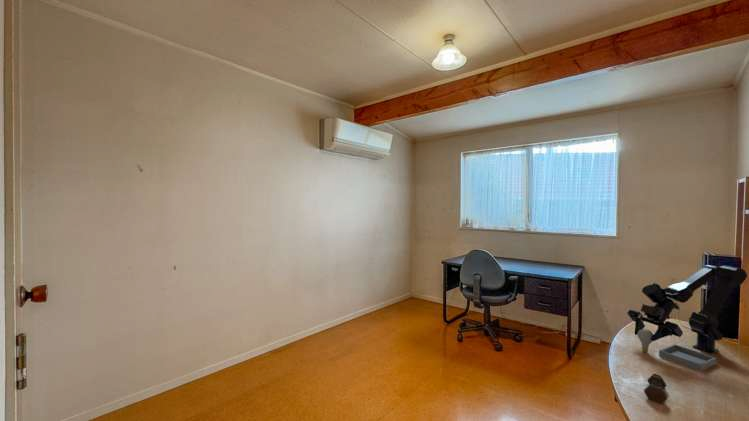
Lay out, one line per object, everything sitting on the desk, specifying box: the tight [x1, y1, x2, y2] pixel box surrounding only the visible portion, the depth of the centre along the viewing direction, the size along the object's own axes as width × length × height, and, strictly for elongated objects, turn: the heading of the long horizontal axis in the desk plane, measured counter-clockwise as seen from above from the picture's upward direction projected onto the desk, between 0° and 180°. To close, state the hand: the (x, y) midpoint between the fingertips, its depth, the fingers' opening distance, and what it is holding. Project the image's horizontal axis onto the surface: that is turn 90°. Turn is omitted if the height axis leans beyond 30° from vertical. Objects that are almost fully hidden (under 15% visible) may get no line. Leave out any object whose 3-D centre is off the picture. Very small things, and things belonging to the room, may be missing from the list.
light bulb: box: [636, 328, 654, 353], centre depth 139 cm, size 5×6×10 cm
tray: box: [658, 343, 717, 372], centre depth 132 cm, size 13×13×2 cm
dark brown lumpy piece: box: [643, 373, 668, 405], centre depth 110 cm, size 6×5×15 cm
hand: (643, 337), depth 138 cm, fingers open, 6 cm apart
